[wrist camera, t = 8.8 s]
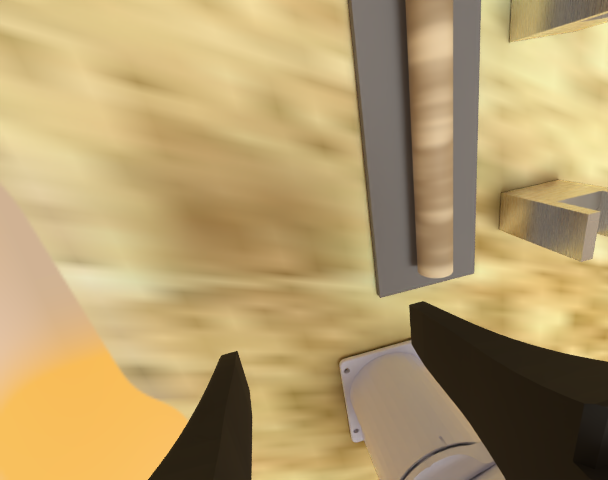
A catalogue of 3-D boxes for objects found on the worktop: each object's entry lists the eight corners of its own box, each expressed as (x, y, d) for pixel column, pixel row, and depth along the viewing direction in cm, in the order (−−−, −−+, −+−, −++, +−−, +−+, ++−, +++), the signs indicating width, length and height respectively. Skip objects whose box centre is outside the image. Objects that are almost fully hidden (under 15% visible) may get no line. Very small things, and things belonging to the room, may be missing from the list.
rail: (442, 260, 24) (460, 274, 22) (412, 266, 24) (426, 281, 22) (439, -26, 18) (462, -47, 16) (397, -19, 18) (415, -39, 16)
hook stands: (554, 216, 26) (650, 243, 20) (499, 229, 25) (580, 261, 19) (583, -24, 20) (730, -90, 14) (512, -14, 19) (634, -78, 13)
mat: (469, 270, 26) (474, 273, 25) (377, 294, 25) (380, 297, 25) (476, -72, 18) (482, -77, 18) (342, -56, 17) (345, -61, 17)
